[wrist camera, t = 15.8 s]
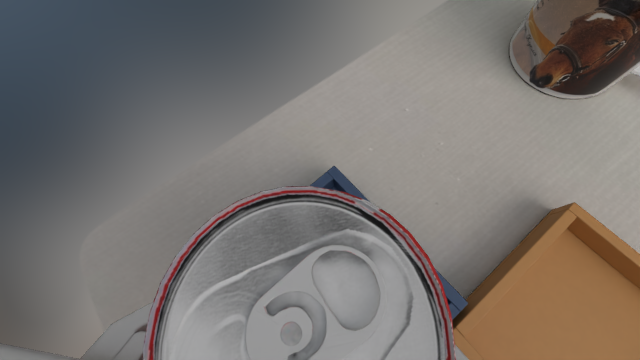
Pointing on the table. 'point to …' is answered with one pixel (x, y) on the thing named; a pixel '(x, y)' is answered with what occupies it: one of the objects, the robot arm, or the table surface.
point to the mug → (577, 46)
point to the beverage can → (300, 286)
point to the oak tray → (557, 296)
